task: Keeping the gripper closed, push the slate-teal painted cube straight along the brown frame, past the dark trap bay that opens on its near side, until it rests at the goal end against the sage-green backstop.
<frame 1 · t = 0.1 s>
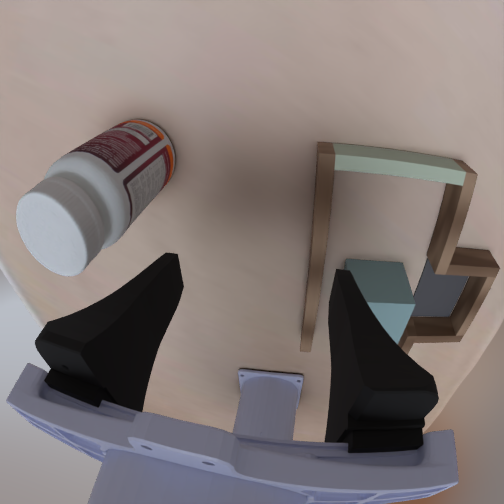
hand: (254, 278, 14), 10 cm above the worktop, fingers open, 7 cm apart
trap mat: (440, 289, 25), resting in brown frame
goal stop: (395, 156, 19), on the worktop
pill bottle: (142, 154, 22), on the worktop
brown frame: (375, 261, 24), on the worktop
teal block: (369, 282, 26), on the worktop
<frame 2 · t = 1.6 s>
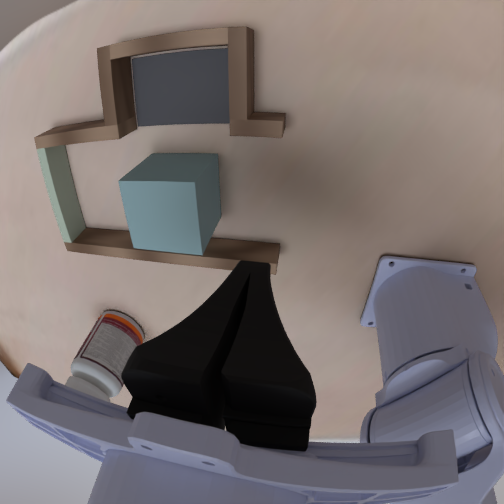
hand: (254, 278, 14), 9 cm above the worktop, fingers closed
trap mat: (181, 87, 18), resting in brown frame
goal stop: (70, 185, 24), on the worktop
pill bottle: (123, 325, 35), on the worktop
brown frame: (156, 184, 23), on the worktop
teal block: (187, 184, 22), on the worktop
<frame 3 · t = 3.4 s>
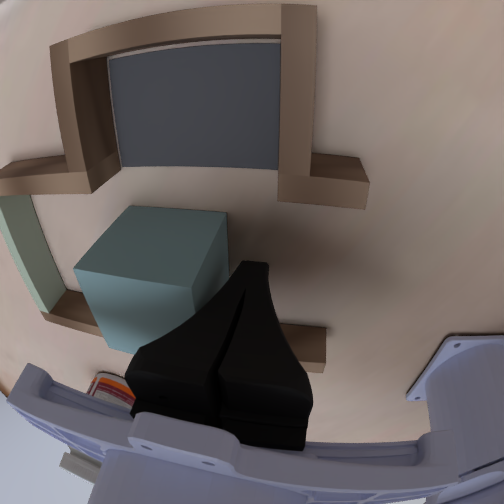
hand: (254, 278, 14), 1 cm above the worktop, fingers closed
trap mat: (189, 107, 11), resting in brown frame
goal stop: (40, 237, 17), on the worktop
pill bottle: (122, 386, 28), on the worktop
brown frame: (154, 249, 16), on the worktop
teal block: (180, 251, 16), on the worktop, touching gripper
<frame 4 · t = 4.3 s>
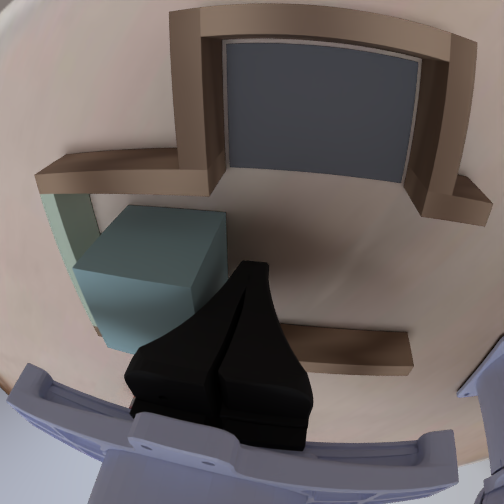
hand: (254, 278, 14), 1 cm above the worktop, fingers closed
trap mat: (321, 110, 11), resting in brown frame
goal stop: (96, 243, 16), on the worktop
brown frame: (250, 258, 15), on the worktop
teal block: (179, 251, 16), on the worktop, touching gripper
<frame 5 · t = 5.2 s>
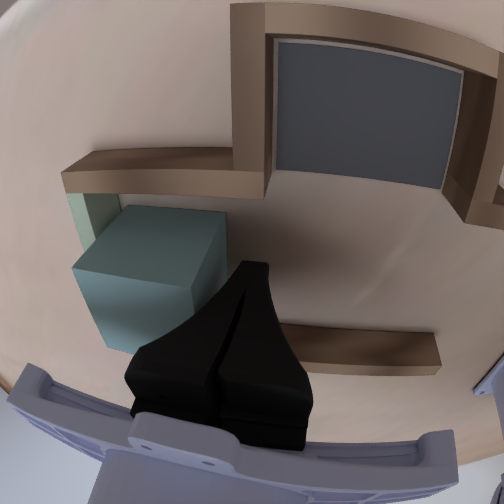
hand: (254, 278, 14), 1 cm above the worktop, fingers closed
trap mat: (371, 116, 10), resting in brown frame
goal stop: (122, 246, 16), on the worktop
brown frame: (289, 262, 15), on the worktop
teal block: (179, 251, 16), on the worktop, touching gripper
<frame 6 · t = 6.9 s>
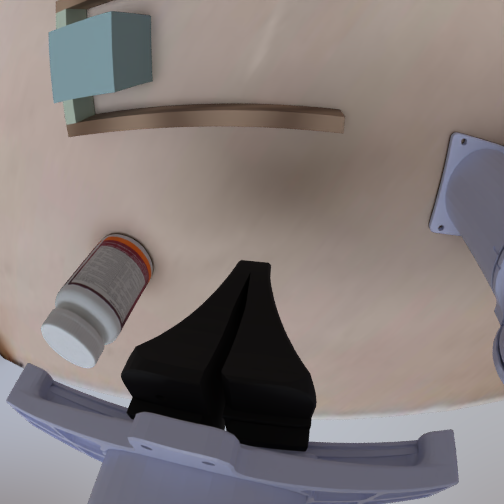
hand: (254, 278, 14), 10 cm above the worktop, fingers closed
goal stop: (84, 62, 18), on the worktop
pill bottle: (127, 257, 29), on the worktop
brown frame: (193, 41, 16), on the worktop
teal block: (121, 52, 17), on the worktop
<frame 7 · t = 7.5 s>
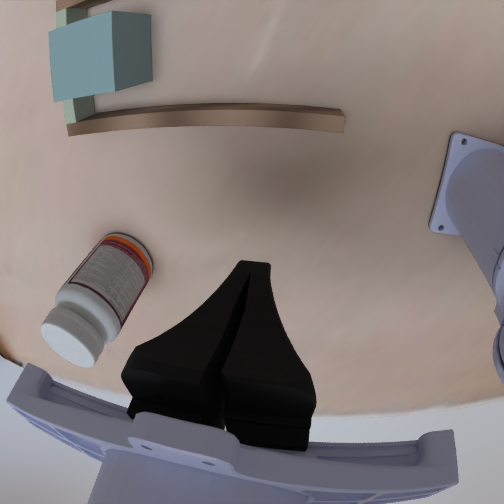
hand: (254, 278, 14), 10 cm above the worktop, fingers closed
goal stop: (84, 61, 18), on the worktop
pill bottle: (127, 256, 29), on the worktop
brown frame: (193, 41, 16), on the worktop
teal block: (121, 52, 17), on the worktop
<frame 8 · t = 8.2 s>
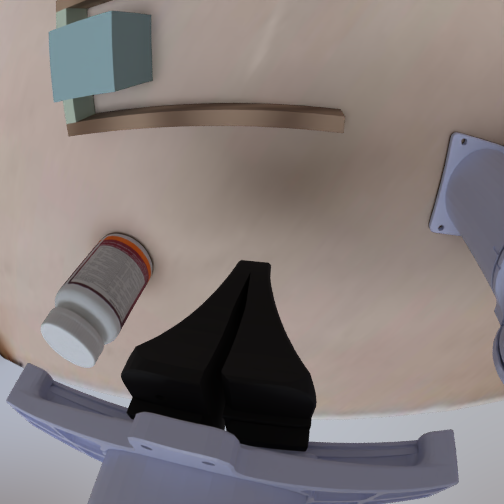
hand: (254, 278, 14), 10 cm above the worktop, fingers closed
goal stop: (84, 61, 18), on the worktop
pill bottle: (127, 256, 29), on the worktop
brown frame: (193, 41, 16), on the worktop
teal block: (121, 52, 17), on the worktop
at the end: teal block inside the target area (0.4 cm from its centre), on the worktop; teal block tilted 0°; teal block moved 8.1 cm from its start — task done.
